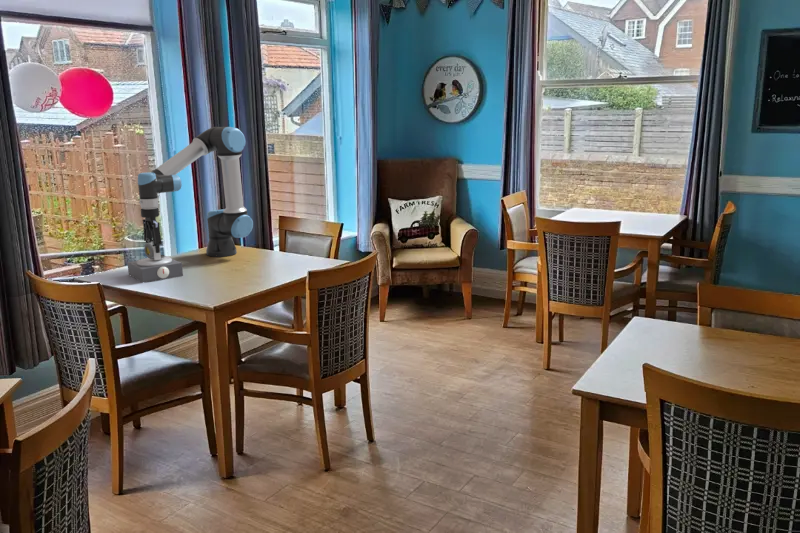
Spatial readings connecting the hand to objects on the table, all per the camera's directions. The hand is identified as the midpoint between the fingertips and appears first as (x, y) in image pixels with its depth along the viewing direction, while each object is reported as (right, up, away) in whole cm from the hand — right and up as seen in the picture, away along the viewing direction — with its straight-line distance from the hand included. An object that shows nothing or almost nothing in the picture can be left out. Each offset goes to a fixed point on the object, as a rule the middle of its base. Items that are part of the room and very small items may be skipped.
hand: (154, 258), depth 305 cm
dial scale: (0, -8, +2) cm, 8 cm away
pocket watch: (0, -1, 0) cm, 1 cm away
